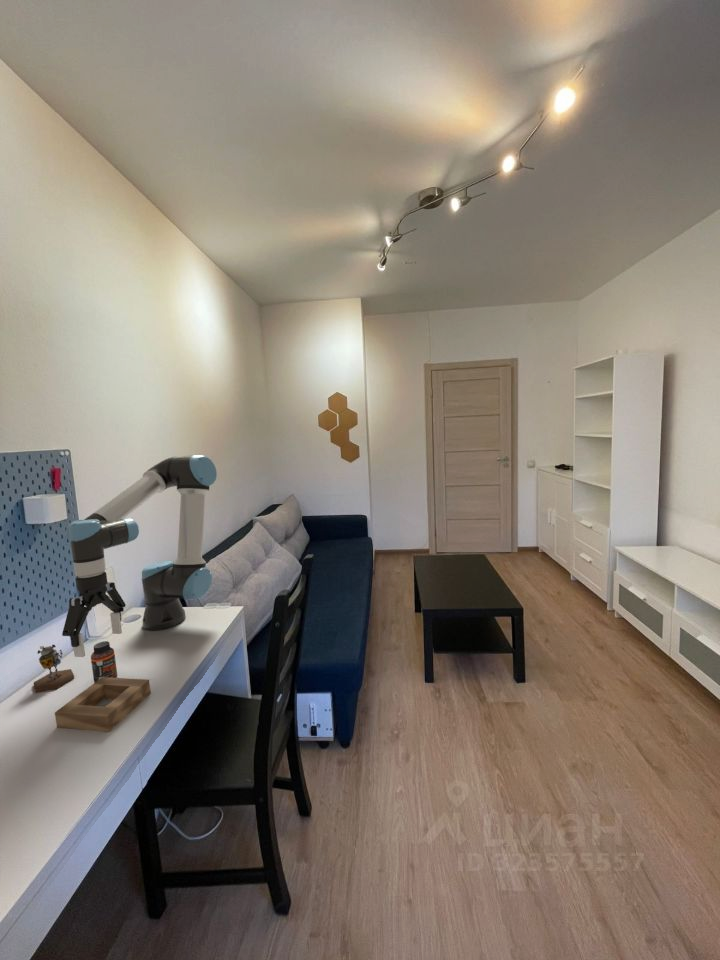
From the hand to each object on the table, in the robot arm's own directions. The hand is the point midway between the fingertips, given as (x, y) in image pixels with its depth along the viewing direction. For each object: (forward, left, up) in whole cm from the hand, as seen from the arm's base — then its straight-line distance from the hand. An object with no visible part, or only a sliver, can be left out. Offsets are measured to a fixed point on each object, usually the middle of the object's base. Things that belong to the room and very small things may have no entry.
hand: (99, 644), depth 121 cm
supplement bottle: (0, 0, -12) cm, 12 cm away
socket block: (+12, +11, -12) cm, 20 cm away
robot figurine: (+2, -16, -12) cm, 20 cm away
